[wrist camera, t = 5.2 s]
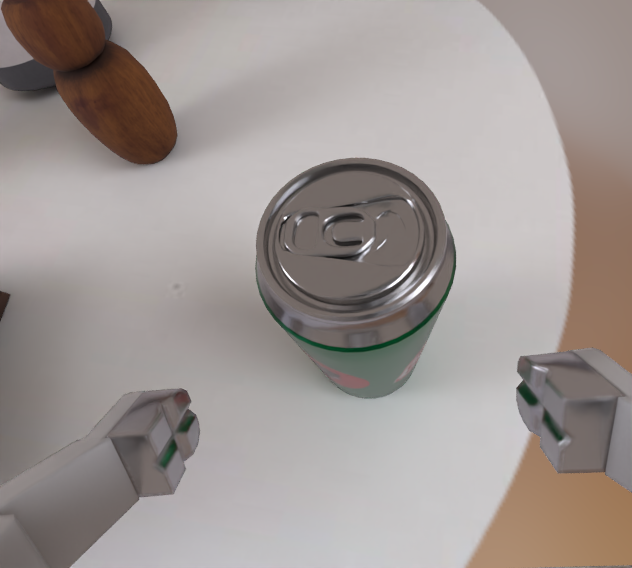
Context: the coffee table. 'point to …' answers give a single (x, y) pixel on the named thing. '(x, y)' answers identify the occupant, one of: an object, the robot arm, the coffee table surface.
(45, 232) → the coffee table surface
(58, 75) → the wooden figurine
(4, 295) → the holder
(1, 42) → the planter
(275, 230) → the soda can
